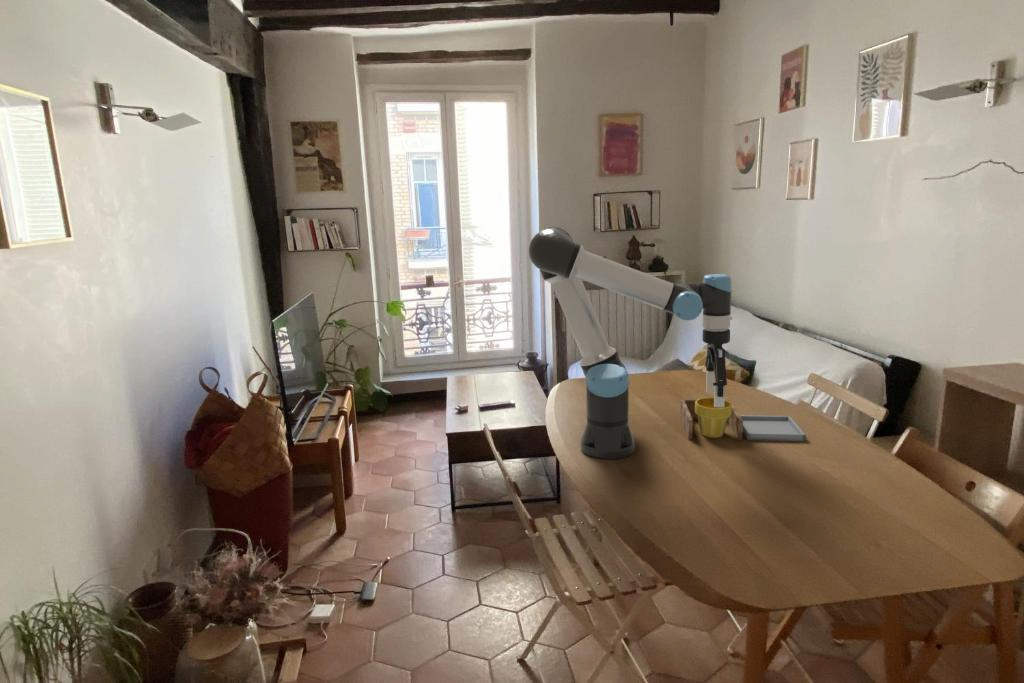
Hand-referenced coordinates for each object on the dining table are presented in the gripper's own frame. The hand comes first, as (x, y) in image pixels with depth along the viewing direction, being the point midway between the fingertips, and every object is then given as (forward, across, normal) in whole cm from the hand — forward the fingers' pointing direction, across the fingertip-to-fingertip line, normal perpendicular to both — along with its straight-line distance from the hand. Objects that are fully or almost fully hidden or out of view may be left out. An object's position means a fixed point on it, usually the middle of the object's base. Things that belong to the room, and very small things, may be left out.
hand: (714, 399), depth 182 cm
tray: (+11, +3, -16) cm, 20 cm away
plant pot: (+11, 0, +1) cm, 11 cm away
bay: (+11, +4, +1) cm, 12 cm away
